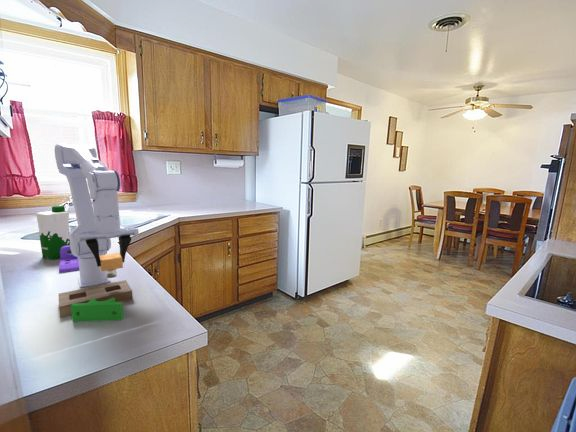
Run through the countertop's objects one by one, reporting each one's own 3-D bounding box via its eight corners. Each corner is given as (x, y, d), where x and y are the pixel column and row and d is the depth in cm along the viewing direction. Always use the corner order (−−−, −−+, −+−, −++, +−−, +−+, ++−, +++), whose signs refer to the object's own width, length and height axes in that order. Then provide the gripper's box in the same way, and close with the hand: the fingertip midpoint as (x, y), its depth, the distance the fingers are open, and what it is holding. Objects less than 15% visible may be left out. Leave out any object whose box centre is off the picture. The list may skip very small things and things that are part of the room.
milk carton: (76, 254, 118) (71, 206, 114) (50, 260, 109) (44, 209, 106) (63, 251, 121) (58, 205, 118) (38, 257, 113) (31, 207, 110)
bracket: (61, 263, 108) (59, 246, 107) (84, 260, 112) (82, 243, 110) (59, 273, 98) (57, 254, 97) (83, 270, 102) (81, 251, 101)
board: (59, 304, 77) (58, 293, 76) (126, 289, 87) (125, 280, 86) (60, 318, 70) (58, 306, 69) (132, 300, 80) (132, 290, 79)
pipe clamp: (128, 313, 73) (127, 297, 73) (121, 321, 70) (120, 304, 69) (81, 314, 72) (80, 297, 71) (72, 322, 68) (70, 305, 68)
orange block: (100, 275, 80) (98, 255, 79) (120, 271, 83) (119, 252, 82) (102, 281, 76) (100, 260, 75) (123, 277, 79) (122, 257, 78)
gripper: (74, 220, 69) (79, 273, 71) (139, 215, 78) (142, 262, 81) (72, 216, 75) (77, 265, 77) (134, 211, 84) (137, 256, 86)
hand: (110, 263), depth 79 cm, fingers closed on orange block, 5 cm apart
